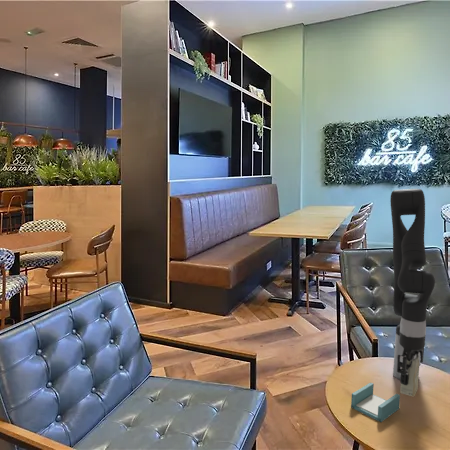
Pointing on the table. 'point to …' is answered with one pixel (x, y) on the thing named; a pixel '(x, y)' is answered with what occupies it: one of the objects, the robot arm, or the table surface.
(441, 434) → the table surface
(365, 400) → the u rest
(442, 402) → the table surface
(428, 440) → the table surface
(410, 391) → the skincare box
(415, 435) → the table surface
